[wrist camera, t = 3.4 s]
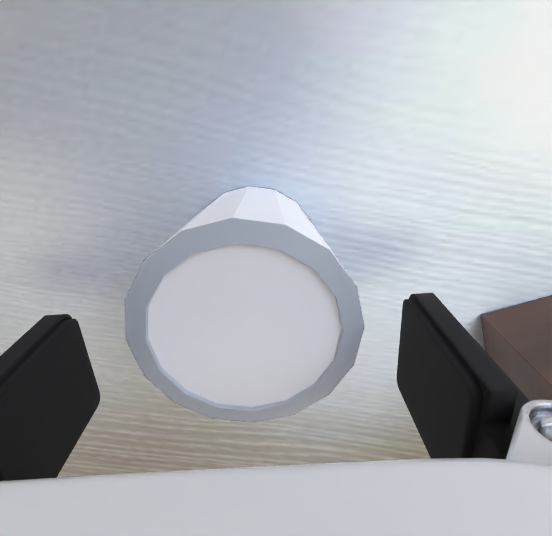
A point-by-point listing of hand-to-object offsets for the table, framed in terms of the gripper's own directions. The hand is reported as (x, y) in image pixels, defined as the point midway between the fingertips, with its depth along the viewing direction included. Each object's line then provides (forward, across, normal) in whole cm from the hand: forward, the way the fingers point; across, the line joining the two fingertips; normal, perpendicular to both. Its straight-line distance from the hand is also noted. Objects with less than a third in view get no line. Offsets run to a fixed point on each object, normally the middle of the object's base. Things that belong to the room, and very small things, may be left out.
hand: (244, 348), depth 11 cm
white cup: (+7, 0, 0) cm, 7 cm away
